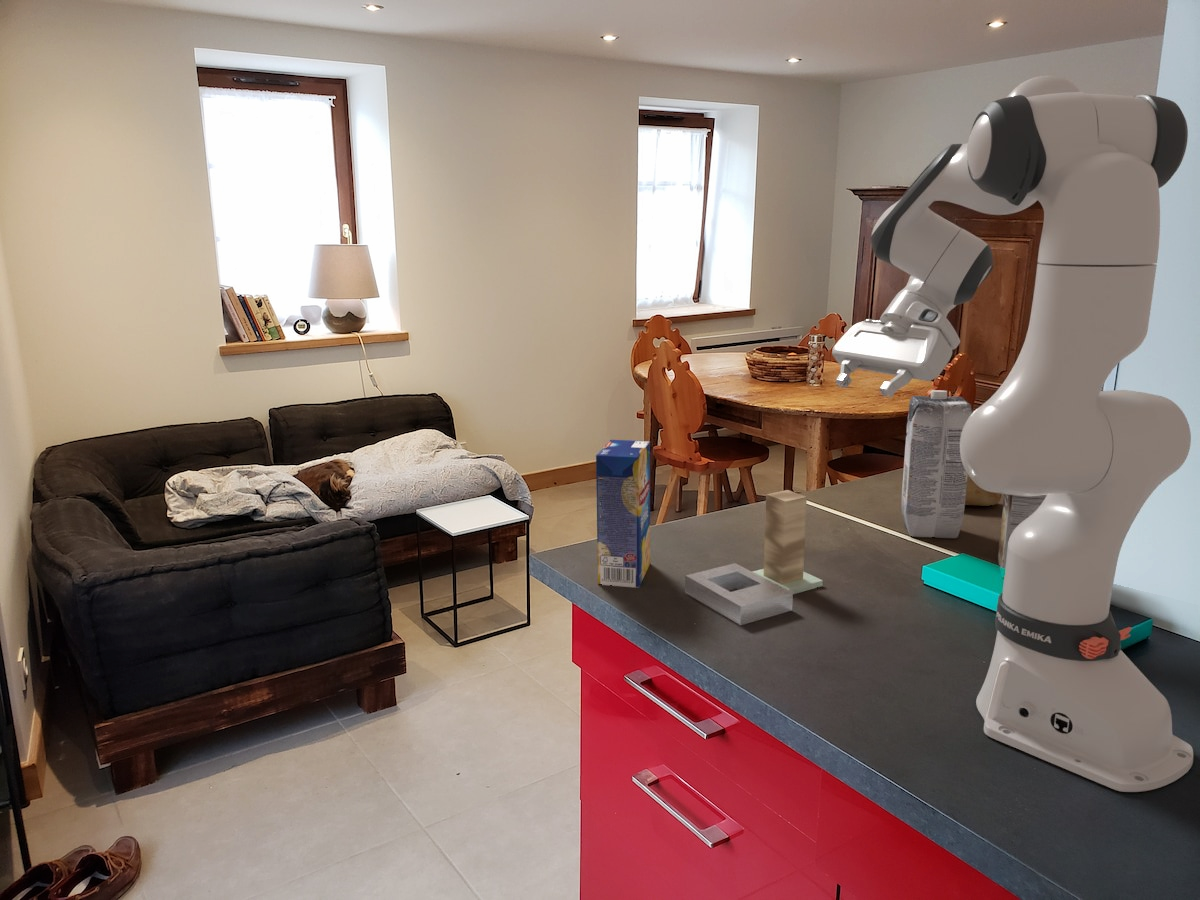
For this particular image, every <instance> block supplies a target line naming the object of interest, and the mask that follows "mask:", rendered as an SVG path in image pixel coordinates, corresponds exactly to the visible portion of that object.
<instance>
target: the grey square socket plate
mask: <svg viewBox="0 0 1200 900" xmlns="http://www.w3.org/2000/svg"><path fill="white" fill-rule="evenodd" d="M684 580H685V581H684V582H685V583H684V584H685V585H684V587H685V589H684V590H685V591H684V593H685V594H686V595H688V596H690V597H691V598H693V599H695V600H696V601H698V602H700V603H701V604H703V605H704V606H706V607H708V608H710V609H711V610H713V611H715V612H716V613H718V614H719V615H721V616H724V617H726V618H727V619H729V620H731V621H732V622H734V623H735V624H737V625H739V626H743V625H747V624H750V623H753V622H757V621H760V620H763V619H768V618H770V617H774V616H778V615H781V614H784V613H788V612H792V611H793V602H794V601H793V600H794V598H793V596H794V594H793V592H792V591H790V590H788V589H786V588H784V587H782V586H780V585H778V584H776V583H774V582H772V581H770V580H768V579H766V578H764V577H762V576H760V575H758V574H756V573H754V572H752V571H751V570H749V569H747V568H745V567H743V566H742V565H740V564H737V563H735V562H734V563H730V564H727V565H726V564H725V565H722V566H718V567H714V568H709V569H706V570H702V571H697V572H694V573H689V574H686V575H685V577H684Z"/></svg>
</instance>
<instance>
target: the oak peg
mask: <svg viewBox="0 0 1200 900" xmlns="http://www.w3.org/2000/svg"><path fill="white" fill-rule="evenodd" d="M807 497H808V496H805V495H804V494H800V493H798V492H794V491H792V490H790V489H785V490H782V491H776V492H771V493H766V496H765V515H764V516H765V517H764V518H765V519H764V520H765V521H764V523H765V525H764V547H763V548H764V551H763V553H764V554H763V555H764V556H763V569H764V575H763V576H765V577H768V578H770V579H772V580H774V581H776V582H778V583H780V584H786V583H790V582H793V581H797V580H801V579H803V571H804V567H805V566H804V561H805V543H806V521H807V520H806V518H807V500H808V498H807Z"/></svg>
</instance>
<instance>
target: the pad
mask: <svg viewBox="0 0 1200 900" xmlns="http://www.w3.org/2000/svg"><path fill="white" fill-rule="evenodd" d="M752 572H754V573H756V574H758V575H760V576H762V577H764V578H766V579H768V580H770V581H772V582H774V583H776V584H778V585H780V586H782V587H784V588H786V589H788V590H790V591H792V592H793V595H797V594H800V593H803V592H806V591H810V590H814V589H817V587H818V588H821V587H823V586H824V585H823V583H824V582H823V581H824V580H823V579H821V578H819V577H816V576H815V575H813V574H810V573H809V572H808V573H807V572H805V571H804V570H803V579H801V580H797V581H793V582H790V583H786V584H780V583H778V582H776V581H774V580H772V579H770V578H768V577H765V576H763V575H764V568H762V569H761V568H760V569H758V570H753V571H752Z"/></svg>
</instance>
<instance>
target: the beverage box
mask: <svg viewBox="0 0 1200 900" xmlns="http://www.w3.org/2000/svg"><path fill="white" fill-rule="evenodd" d="M595 460H596V461H595V468H596V470H595V471H596V473H595V475H596V476H595V477H596V478H595V479H596V533H597V534H596V537H597V540H596V542H597V545H596V546H597V550H596V551H597V585H598V584H602V585H601V586H610V585H612V586H613V587H622V588H623V587H625V588H640V586H641V583H642V581H643V580H644V578H645V575H646V574H647V571H648V570H649V567H650V565H651V441H649V440H633V439H632V440H631V439H630V440H627V439H624V440H623V439H610V440H608V442H607V443H606V444H605V445H604V446H603V447H602V449H600V450H599V452H597V454H596V455H595Z"/></svg>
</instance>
